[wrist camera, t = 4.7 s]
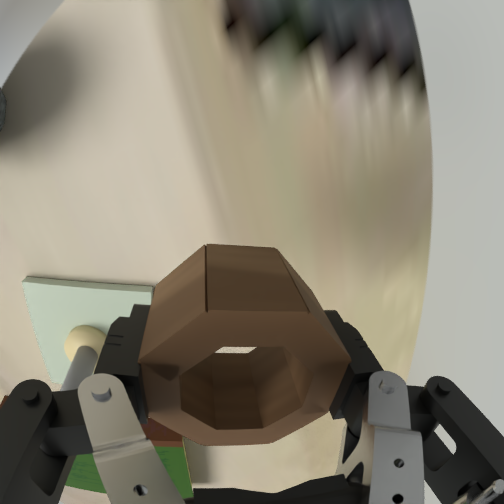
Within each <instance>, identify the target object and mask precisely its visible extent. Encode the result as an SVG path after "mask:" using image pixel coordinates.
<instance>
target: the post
mask: <svg viewBox="0 0 504 504" xmlns="http://www.w3.org/2000/svg"><path fill="white" fill-rule="evenodd" d="M22 285H23V290H24V294H25V298H26V303H27V307H28V310H29V314H30V318H31V322H32V325H33V329H34V332H35V335H36V339H37V342H38V345H39V348H40V351H41V354H42V357H43V360H44V363H45V365H46V368H47V371H48V373H49V376H50V379H51V381H52V383H57V384H62V387H61V390H60V391H67V390H74V389H77V388H78V387H79V385H80V383H81V382H82V381H83V380H84V379H85V378H87V377H89V376H91V375H93V374H94V371H95V368H96V365H97V362H98V359H99V356H100V353H101V350H102V347H103V344H104V342H105V339H106V336H107V333H108V331H109V328H110V325H111V324H112V323H113V322H114V321H115V320H116V319H117V318H118V317H119V316H121V317H130V314H131V311H132V308H133V305H134V304H145V305H151V302H152V298H153V286H139V285H123V284H108V283H94V282H82V281H69V280H58V279H47V278H36V277H26V278H25V279H24V280H23V281H22Z"/></svg>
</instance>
